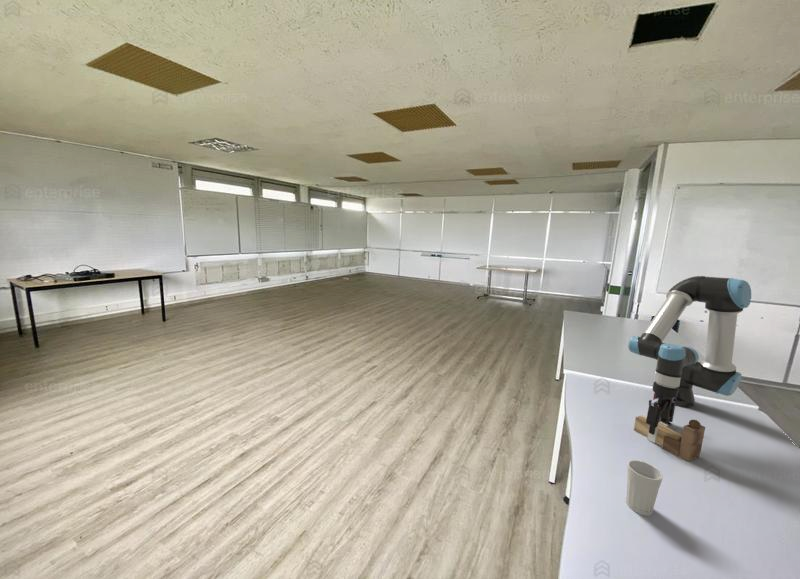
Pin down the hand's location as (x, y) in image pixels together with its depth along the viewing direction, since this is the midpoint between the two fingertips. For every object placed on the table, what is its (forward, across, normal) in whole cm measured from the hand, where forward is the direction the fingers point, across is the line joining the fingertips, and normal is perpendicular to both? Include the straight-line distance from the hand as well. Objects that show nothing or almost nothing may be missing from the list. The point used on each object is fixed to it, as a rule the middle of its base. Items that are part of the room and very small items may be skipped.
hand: (656, 439), depth 125 cm
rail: (0, 0, 0) cm, 1 cm away
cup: (+2, +41, +19) cm, 46 cm away
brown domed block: (0, -1, +8) cm, 8 cm away
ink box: (0, -16, -8) cm, 18 cm away
